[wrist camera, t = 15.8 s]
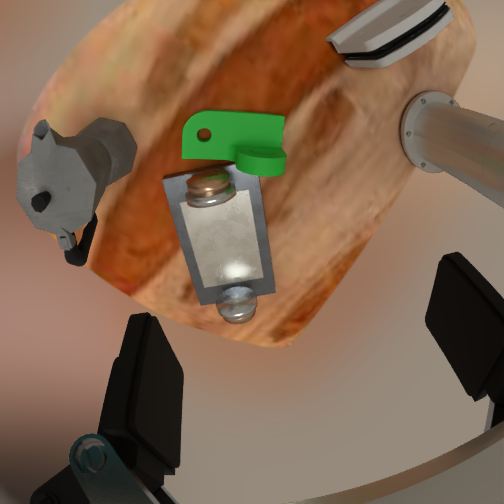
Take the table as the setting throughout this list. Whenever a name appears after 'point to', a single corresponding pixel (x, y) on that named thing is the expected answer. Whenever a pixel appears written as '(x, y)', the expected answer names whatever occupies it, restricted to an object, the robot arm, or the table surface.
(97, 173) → the coffeepot
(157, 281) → the table surface
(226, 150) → the mechanical part
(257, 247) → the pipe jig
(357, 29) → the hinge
